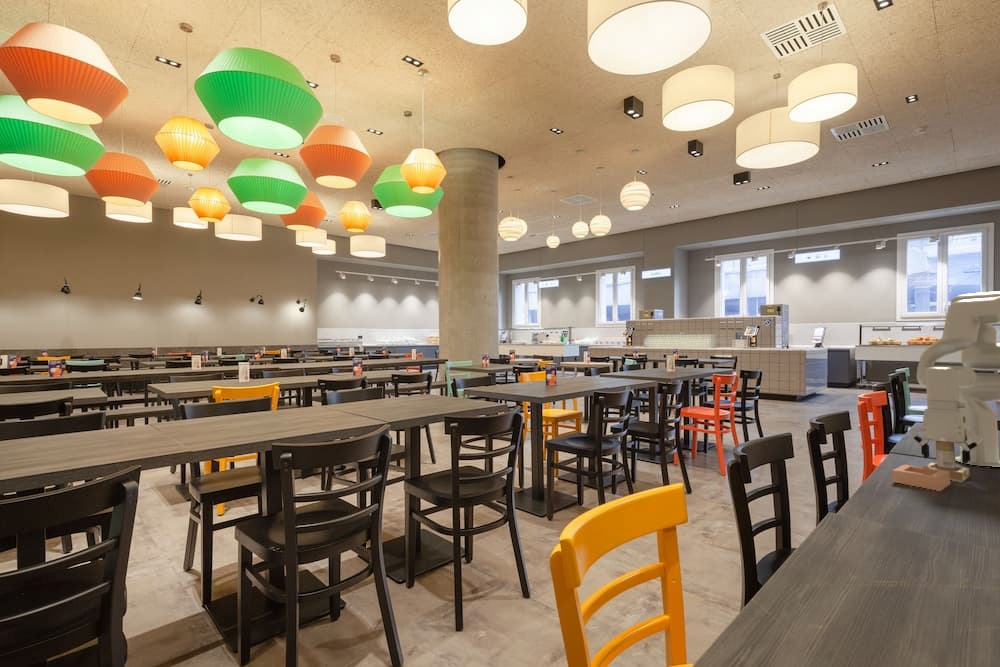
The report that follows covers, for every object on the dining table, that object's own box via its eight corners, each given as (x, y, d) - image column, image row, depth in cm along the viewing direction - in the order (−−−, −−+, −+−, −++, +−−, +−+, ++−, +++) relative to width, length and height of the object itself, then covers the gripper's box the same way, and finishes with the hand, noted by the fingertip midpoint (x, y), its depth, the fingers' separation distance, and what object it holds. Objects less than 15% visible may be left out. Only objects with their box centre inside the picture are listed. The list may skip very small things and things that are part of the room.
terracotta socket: (904, 476, 152) (904, 464, 152) (950, 484, 143) (949, 471, 143) (893, 483, 146) (892, 470, 146) (939, 491, 137) (939, 477, 137)
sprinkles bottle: (956, 476, 151) (954, 434, 151) (956, 479, 148) (953, 436, 148) (937, 474, 154) (935, 432, 155) (936, 477, 151) (934, 434, 151)
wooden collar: (932, 471, 157) (931, 462, 157) (969, 477, 150) (969, 467, 150) (923, 476, 152) (923, 466, 152) (962, 482, 145) (961, 472, 145)
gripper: (984, 407, 147) (986, 463, 146) (912, 402, 161) (914, 453, 160) (978, 409, 142) (980, 467, 142) (904, 404, 157) (906, 457, 156)
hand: (945, 460), depth 151 cm, fingers open, 8 cm apart
